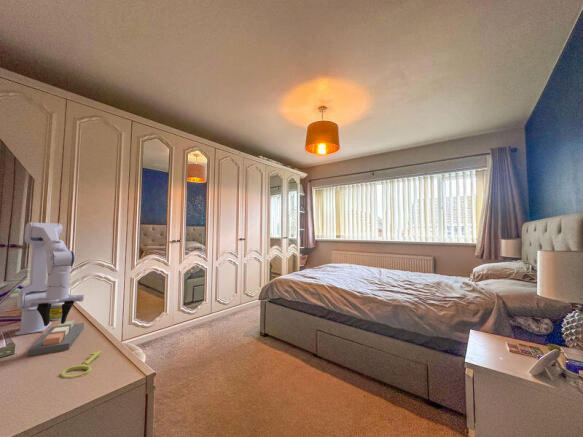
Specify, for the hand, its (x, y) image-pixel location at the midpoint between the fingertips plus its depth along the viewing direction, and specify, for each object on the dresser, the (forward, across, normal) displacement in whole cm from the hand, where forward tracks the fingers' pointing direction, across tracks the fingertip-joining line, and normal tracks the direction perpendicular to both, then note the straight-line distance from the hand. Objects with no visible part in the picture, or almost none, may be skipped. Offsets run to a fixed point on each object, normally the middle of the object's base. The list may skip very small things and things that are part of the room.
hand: (55, 324), depth 83 cm
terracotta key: (+7, 0, 0) cm, 7 cm away
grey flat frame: (+8, 0, +6) cm, 11 cm away
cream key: (+7, 0, +7) cm, 9 cm away
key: (+9, +12, -18) cm, 24 cm away
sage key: (+7, 0, +13) cm, 15 cm away
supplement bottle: (+9, -8, +34) cm, 36 cm away
